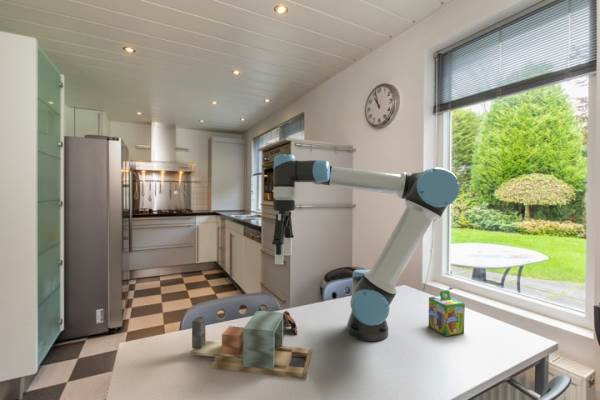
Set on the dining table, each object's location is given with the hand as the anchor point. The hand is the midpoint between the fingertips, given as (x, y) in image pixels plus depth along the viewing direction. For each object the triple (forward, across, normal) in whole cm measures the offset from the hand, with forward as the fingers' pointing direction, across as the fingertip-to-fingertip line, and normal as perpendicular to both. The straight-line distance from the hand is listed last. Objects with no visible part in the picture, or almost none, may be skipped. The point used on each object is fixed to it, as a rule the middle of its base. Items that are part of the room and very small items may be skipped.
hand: (283, 259), depth 99 cm
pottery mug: (+29, -6, -1) cm, 30 cm away
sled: (+27, +13, -16) cm, 34 cm away
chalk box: (+29, -19, +60) cm, 69 cm away
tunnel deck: (+29, +13, -3) cm, 32 cm away
